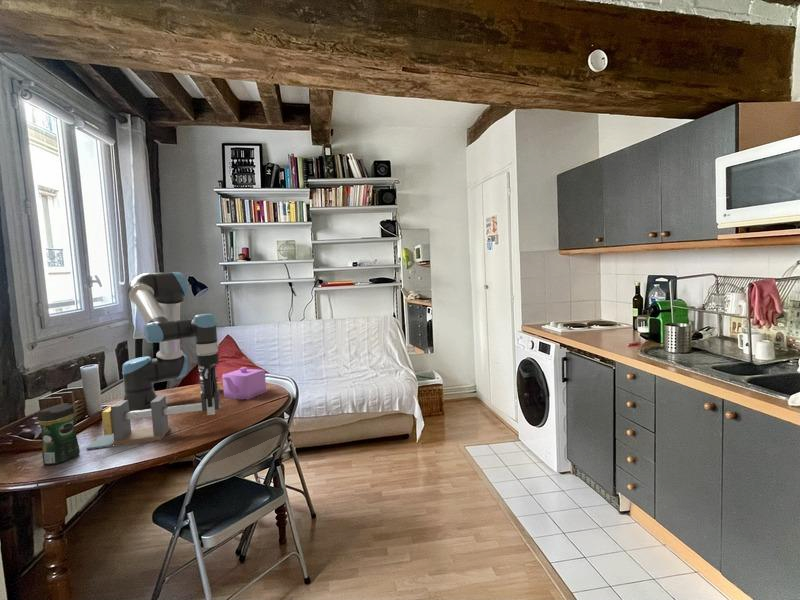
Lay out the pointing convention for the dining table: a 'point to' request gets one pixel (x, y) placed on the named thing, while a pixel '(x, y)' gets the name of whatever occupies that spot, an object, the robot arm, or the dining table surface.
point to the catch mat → (102, 442)
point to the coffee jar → (58, 433)
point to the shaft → (177, 408)
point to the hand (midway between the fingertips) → (212, 412)
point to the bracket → (129, 436)
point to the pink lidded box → (244, 383)
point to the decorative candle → (202, 377)
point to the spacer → (107, 421)
